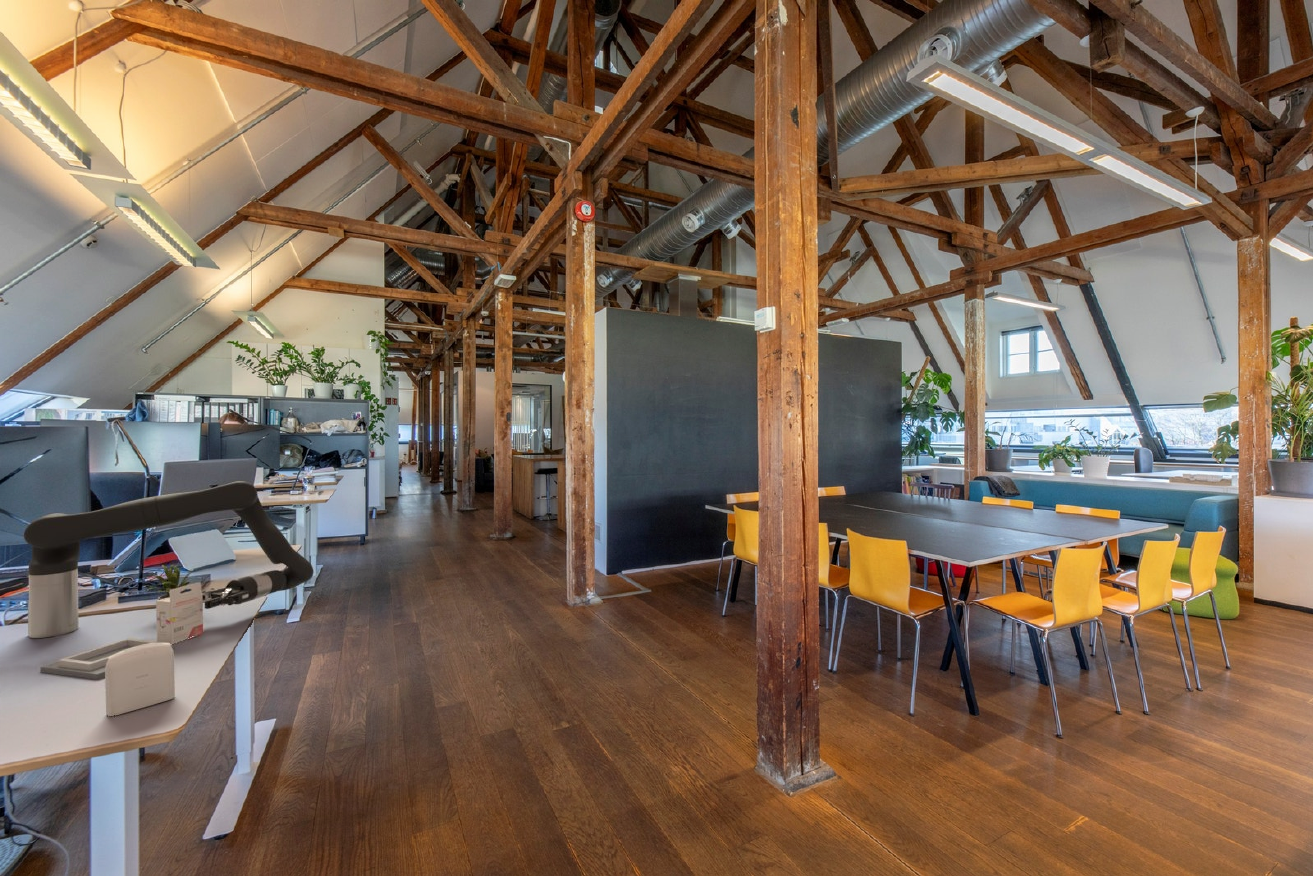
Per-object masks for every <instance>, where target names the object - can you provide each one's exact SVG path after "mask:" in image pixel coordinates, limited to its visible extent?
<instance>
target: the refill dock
mask: <svg viewBox="0 0 1313 876" xmlns="http://www.w3.org/2000/svg"><path fill="white" fill-rule="evenodd" d="M150 643H158V641H157V640H148V639H141V638H140V639H139V638H131V637H130V638H129V637H128V638H125V639H122V640H119V641H115V642H112V643H110V644H106V645H103V646H99V647H96V648H94V649H90V650H89V649H88V650H86V651H84V652H79V653H77V654H74V655H73V654H72V655H71V656H67V657H64V658H61V659H58V661H54V662H52V663H49V664H45V665H42V666H40V673H47V674H52V673H55V674H54V675H60V674H61V676H69V677H74V678H75V677H76V678H83V679H90V680H91V679H92V680H100V679H103V678H105V667H106V663H107V662H108V657H109V656H111V655H113V654H116V653H118V652H120V651H123V650H125V649H128V648H132V647H135V646H139V645H144V644H150ZM171 647H172V649H173V651H174V650H175V651H176V648H175V646H171Z"/></svg>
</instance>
